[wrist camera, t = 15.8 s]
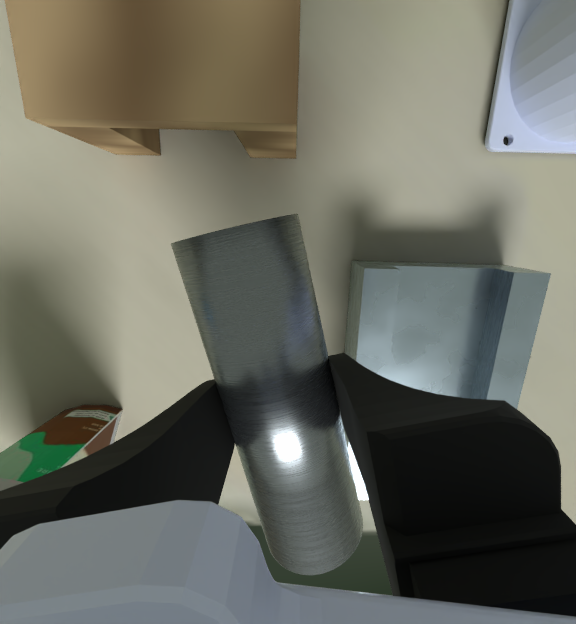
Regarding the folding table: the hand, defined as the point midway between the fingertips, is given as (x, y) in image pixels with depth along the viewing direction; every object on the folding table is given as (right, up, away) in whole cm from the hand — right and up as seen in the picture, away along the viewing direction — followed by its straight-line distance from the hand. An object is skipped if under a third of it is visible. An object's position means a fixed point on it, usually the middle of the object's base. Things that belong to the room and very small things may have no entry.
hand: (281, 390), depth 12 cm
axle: (-1, 0, +2) cm, 2 cm away
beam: (-4, +14, +5) cm, 15 cm away
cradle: (+8, -1, +9) cm, 12 cm away
